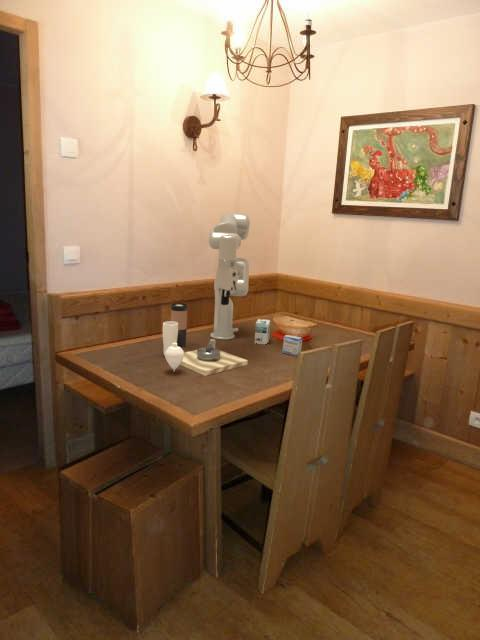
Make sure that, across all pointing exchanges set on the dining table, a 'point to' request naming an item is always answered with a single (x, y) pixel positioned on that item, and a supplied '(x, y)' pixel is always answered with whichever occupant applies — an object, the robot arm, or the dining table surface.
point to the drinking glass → (169, 334)
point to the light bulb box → (262, 331)
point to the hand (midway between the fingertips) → (224, 304)
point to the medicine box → (292, 344)
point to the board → (212, 363)
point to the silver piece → (209, 352)
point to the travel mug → (180, 321)
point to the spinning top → (174, 356)
